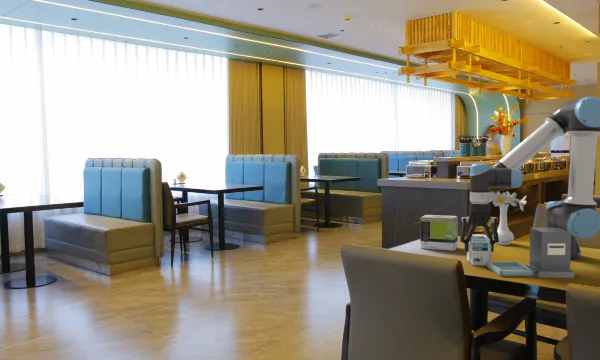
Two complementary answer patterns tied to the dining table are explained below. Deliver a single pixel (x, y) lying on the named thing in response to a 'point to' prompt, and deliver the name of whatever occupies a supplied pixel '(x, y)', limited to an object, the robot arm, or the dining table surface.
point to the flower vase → (505, 214)
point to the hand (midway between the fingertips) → (478, 260)
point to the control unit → (550, 253)
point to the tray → (510, 269)
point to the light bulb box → (480, 249)
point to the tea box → (439, 232)
